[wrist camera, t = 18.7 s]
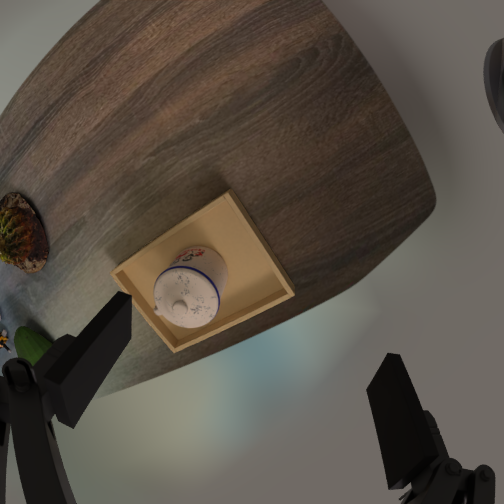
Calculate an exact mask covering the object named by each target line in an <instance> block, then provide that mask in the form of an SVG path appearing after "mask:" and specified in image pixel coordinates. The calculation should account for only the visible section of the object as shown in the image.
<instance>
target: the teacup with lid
mask: <svg viewBox="0 0 504 504" xmlns="http://www.w3.org/2000/svg"><path fill="white" fill-rule="evenodd" d="M227 279H228V270H227V266H226V264H225V262H224V260H223V259H222V257H221V256H220V255H219V254H218V253H216V252H215V251H214V250H212V249H210V248H207V247H203V246H192V247H189V248H186V249H184V250H183V251H182V252H180V253H179V254H178V256H177V257H176V258H175V259H174V261H173V262H172V263H171V264H170V266H169V267H168V268H167V269H166V270H165V271H163V272H162V273H161V274H160V275H159V276H158V278H157V279H156V282H155V284H154V291H153V295H154V301H155V304H156V306H155V307H154V309H153V311H154V313H155V314H156V315H163V316H164V317H165V318H166V319H167V320H169V321H170V322H172V323H173V324H175V325H178V326H181V327H185V328H196V327H200V326H203V325H205V324H207V323H209V322H210V321H211V320H212V319H213V318H214V317H215V316H216V314H217V312H218V310H219V306H220V299H221V296H222V294H223V291H224V288H225V285H226V283H227Z"/></svg>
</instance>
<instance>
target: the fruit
mask: <svg viewBox="0 0 504 504" xmlns="http://www.w3.org/2000/svg"><path fill="white" fill-rule="evenodd" d="M14 344H15V348H16V351H17V354H18V358H24V359H26V360H28V361H29V362H30V363H31V364H32V367H33V366H34V364H35V363H36V362H37V361H38V360H39V359H40V358H41V357H42V355H43V354H44V353H46V351H47V350H48V349H49V348H50V347H51V346H52V343H51V342H49V341H48V340H47V339H46V338H44V337H43V336H41V335H39V334H38V333H36V332H35V331H33V330H32V329H30V328H27V327H25V326H20V327H19V328H18V329H17V330H16V332H15V336H14Z"/></svg>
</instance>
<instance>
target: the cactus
mask: <svg viewBox="0 0 504 504" xmlns="http://www.w3.org/2000/svg"><path fill="white" fill-rule="evenodd" d="M48 249H49V246H48V244H47V241H46V236H45V233H44V229H43V227H42V225H41V223H40V221H39V219H37V218H36V214H35V212H34V211H33V210H32V208H31V207H30V206H29V204H28V203H27V202H26V201H25V200H24V199H23V197H21V195H20V194H18V193H9V194H7V195H5V196H4V197H3V198H2V200H1V201H0V259H1V260H2V262H3V261H5V264H7V263H8V264H13V265H14V266H15V265H16V266H17V267H19V268H20V269H21V270H23V271H24V272H26V273H34V272H37V271H39V270H40V269H41V268H42V267H43V266H44V264H45V262H46V259H47V258H46V257H47V255H48V254H49V252H48Z"/></svg>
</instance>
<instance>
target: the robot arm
mask: <svg viewBox="0 0 504 504" xmlns="http://www.w3.org/2000/svg"><path fill="white" fill-rule="evenodd" d="M131 321H132V295H130V294H127V293H124V292H120V291H118V292H117V293H116V294H115V295H114V296H113V297H112V298H111V300H110V301H109V302H108V303H107V304H106V305H105V306H104V307H103V308H102V309H101V310H100V311H99V313H98V314H97V315H96V316H95V317H94V318H93V319H92V320H91V321H90V323H89V324H88V325H87V326H86V327H85V328H84V329H83V330H82V332H81V333H80V334H79V335H78V336H77V337H74V336H72V335H69V334H66V335H64V336H62V337H60V338H58V339H57V340H56V341H55V342H54V343H53V344H52V346H51V347H50V348H49V349H48V350H47V351H46V353H44V354H43V355H42V357H41V358H40V359H39V360H38V361H37V362H36V363H35V364H34V366H33V367H32V364H31V363H30V362H29V361H28V360H26V359H24V358H17V357H16V358H12V359H10V360H8V361H7V362H6V363H5V364H4V365H3V367H2V373H3V376H4V377H3V376H0V504H5V492H6V489H5V488H6V466H7V453H8V442H9V434H10V426H11V429H12V435H13V443H14V449H15V455H16V460H17V465H18V470H19V475H20V480H21V483H22V488H23V491H24V496H25V499H26V503H27V504H77V503H76V501H75V498H74V495H73V493H72V490H71V487H70V484H69V481H68V478H67V475H66V472H65V469H64V466H63V462H62V459H61V455H60V452H59V448H58V445H57V441H56V437H55V433H54V428H53V424H52V421H51V419H52V417H53V416H54V414H56V417H57V419H58V421H59V422H61V423H63V424H65V425H67V426H69V427H71V428H73V429H74V427H75V426H76V424H77V422H78V421H79V419H80V417H81V415H82V414H83V412H84V411H85V409H86V408H87V406H88V404H89V403H90V401H91V400H92V398H93V396H94V395H95V393H96V392H97V390H98V388H99V387H100V385H101V384H102V382H103V381H104V379H105V378H106V376H107V374H108V373H109V371H110V370H111V368H112V367H113V365H114V364H115V362H116V361H117V359H118V358H119V356H120V355H121V353H122V352H123V350H124V349H125V347H126V346H127V344H128V343H129V341H130V340H131ZM366 391H367V395H368V399H369V403H370V407H371V410H372V415H373V419H374V423H375V427H376V432H377V436H378V440H379V445H380V449H381V454H382V459H383V464H384V468H385V474H386V479H387V484H388V489H389V490H393V489H403V488H404V487H405V486H407V485H408V484H409V483H410V482H411V486H412V488H411V489H410V490H409V491H408V492H406V493H405V494H404V495H403V496H401V497H400V498H399V500H401V499H403V498H404V497H405V498H404V499H403V501H402V503H401V504H494V503H495V473H494V471H493V470H492V469H491V468H490V467H489V466H487V465H480V466H478V467H477V468H476V469H475V470H474V471H473V470H468V469H462V466H461V464H460V463H459V462H458V461H457V460H455V459H453V458H449V455H448V452H447V450H446V447H445V444H444V442H443V439H442V436H441V435H440V431H439V429H438V428H437V424H436V421H435V418H434V417H433V416H432V415H431V413H430V412H429V411H427V410H425V411H424V410H423V409H422V406H421V404H420V401H419V399H418V396H417V394H416V392H415V389H414V387H413V384H412V382H411V379H410V377H409V375H408V372H407V370H406V368H405V365H404V363H403V361H402V358H401V356H400V354H393V353H387V355H386V357H385V358H384V360H383V362H382V364H381V366H380V367H379V369H378V371H377V373H376V374H375V376H374V378H373V379H372V381H371V383H370V384H369V386H368V388H367V389H366Z"/></svg>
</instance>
